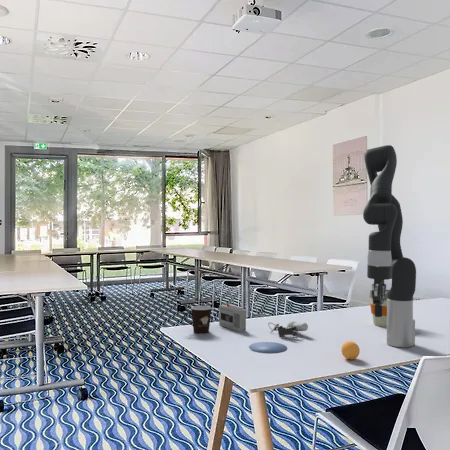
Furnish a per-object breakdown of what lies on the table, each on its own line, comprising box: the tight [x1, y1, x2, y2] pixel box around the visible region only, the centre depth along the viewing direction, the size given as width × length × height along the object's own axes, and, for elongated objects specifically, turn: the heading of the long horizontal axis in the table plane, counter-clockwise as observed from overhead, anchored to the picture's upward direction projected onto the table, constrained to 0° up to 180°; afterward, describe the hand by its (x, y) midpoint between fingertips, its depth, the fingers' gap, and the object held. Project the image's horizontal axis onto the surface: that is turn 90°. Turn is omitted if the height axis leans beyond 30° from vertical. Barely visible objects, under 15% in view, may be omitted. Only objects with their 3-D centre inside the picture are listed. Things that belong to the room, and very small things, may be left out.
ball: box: [340, 340, 361, 360], centre depth 155 cm, size 6×6×6 cm
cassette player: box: [218, 303, 247, 333], centre depth 199 cm, size 16×3×10 cm, turn 36°
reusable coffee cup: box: [369, 289, 389, 328], centre depth 205 cm, size 12×13×15 cm
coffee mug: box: [182, 305, 212, 334], centre depth 192 cm, size 12×9×10 cm
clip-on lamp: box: [267, 320, 309, 338], centre depth 189 cm, size 12×6×18 cm
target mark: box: [248, 341, 288, 354], centre depth 168 cm, size 14×14×1 cm
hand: (378, 316), depth 150 cm, fingers closed
